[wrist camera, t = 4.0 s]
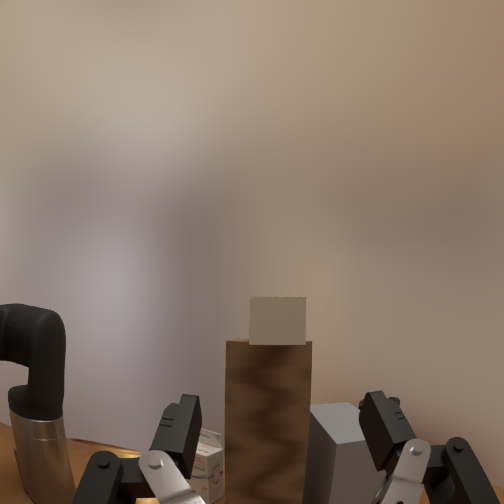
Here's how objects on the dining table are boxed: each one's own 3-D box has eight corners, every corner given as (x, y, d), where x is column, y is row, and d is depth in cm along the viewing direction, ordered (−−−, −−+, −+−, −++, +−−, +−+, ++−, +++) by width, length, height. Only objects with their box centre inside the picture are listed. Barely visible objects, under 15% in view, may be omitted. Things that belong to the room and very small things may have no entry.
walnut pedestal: (227, 567, 16) (226, 340, 25) (234, 505, 33) (237, 338, 42) (291, 567, 16) (312, 341, 25) (280, 505, 33) (288, 339, 42)
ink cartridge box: (172, 490, 36) (168, 427, 40) (188, 483, 40) (186, 422, 44) (209, 506, 32) (207, 440, 36) (224, 496, 36) (224, 433, 40)
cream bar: (248, 344, 17) (250, 296, 17) (251, 339, 41) (252, 319, 42) (305, 344, 16) (305, 297, 17) (274, 339, 41) (275, 320, 42)
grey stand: (315, 564, 16) (336, 444, 22) (297, 504, 33) (305, 405, 39) (367, 554, 16) (397, 432, 22) (335, 499, 33) (347, 401, 39)
